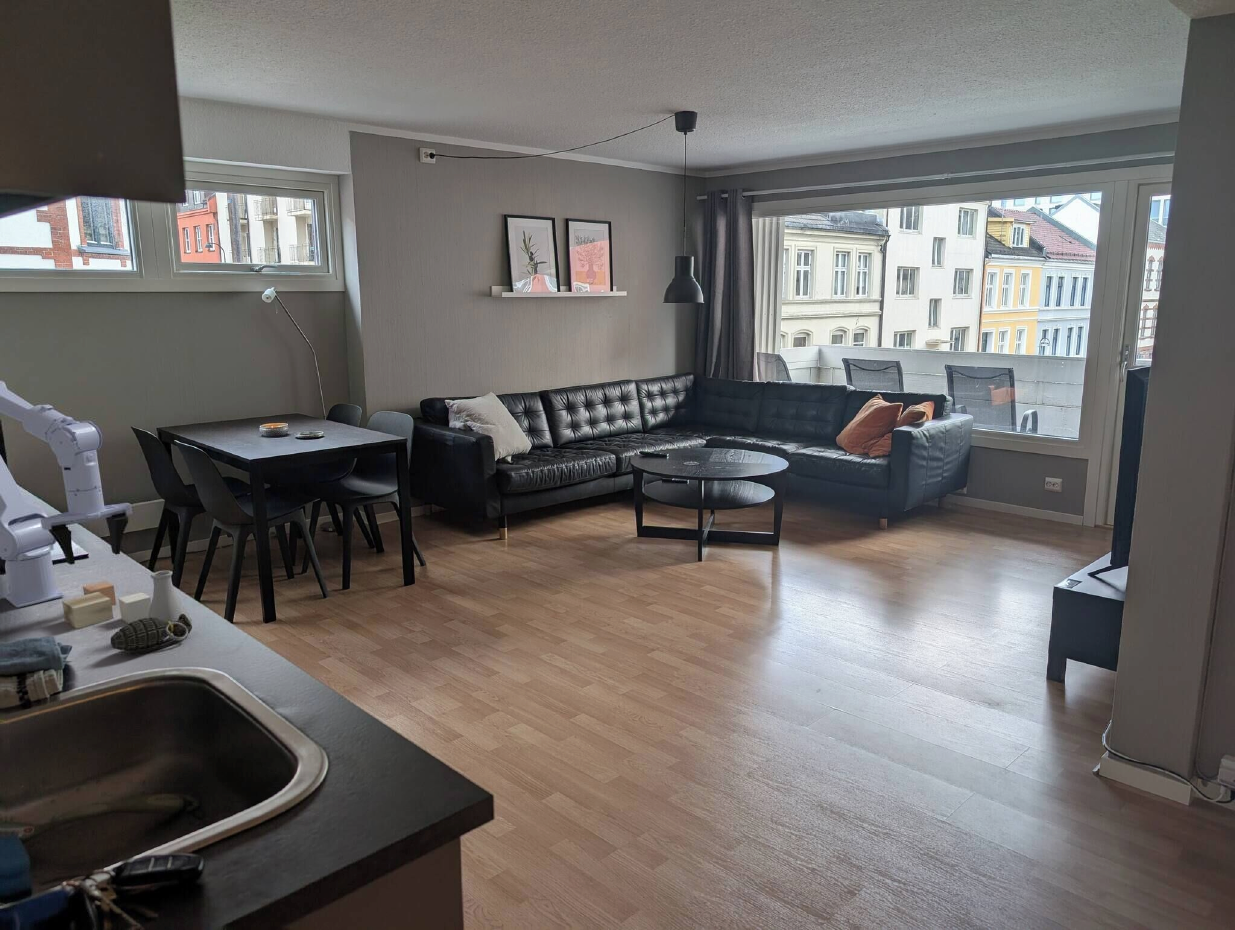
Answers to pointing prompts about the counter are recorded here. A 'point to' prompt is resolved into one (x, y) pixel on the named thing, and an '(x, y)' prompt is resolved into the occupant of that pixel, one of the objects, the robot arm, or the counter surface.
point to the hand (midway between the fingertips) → (94, 558)
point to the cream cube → (134, 607)
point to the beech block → (87, 610)
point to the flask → (165, 599)
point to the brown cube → (101, 590)
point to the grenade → (150, 634)
